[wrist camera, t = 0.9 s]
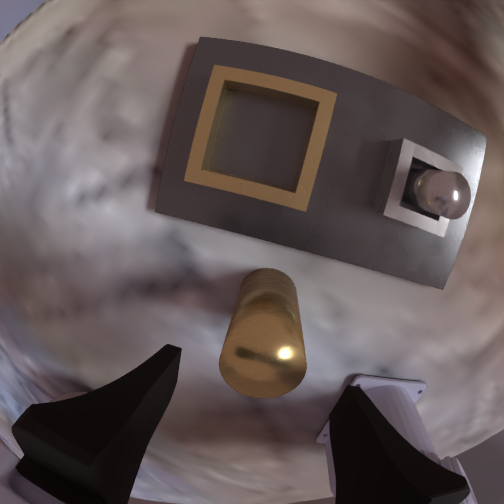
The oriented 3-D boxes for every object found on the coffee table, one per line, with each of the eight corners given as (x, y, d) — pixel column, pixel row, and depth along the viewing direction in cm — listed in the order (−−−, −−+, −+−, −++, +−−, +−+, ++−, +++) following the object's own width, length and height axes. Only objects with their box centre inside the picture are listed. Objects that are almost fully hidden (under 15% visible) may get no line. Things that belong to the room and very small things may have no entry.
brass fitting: (287, 326, 21) (290, 404, 13) (233, 312, 21) (212, 387, 13) (304, 276, 20) (319, 343, 12) (246, 261, 20) (228, 321, 12)
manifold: (437, 284, 19) (478, 321, 13) (160, 209, 19) (117, 228, 13) (479, 137, 16) (531, 136, 10) (203, 42, 16) (176, 1, 10)
